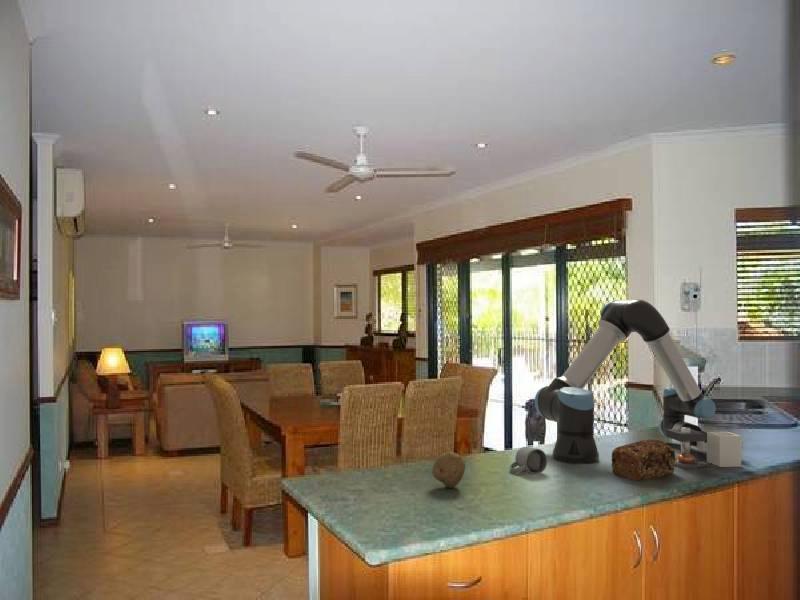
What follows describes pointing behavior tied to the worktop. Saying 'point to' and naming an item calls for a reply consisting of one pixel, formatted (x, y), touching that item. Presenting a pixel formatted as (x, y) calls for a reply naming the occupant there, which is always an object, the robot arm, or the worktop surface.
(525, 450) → the ceramic mug
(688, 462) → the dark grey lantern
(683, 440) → the dark grey square slab
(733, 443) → the sleeve
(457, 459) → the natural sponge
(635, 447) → the bread
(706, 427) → the worktop surface
